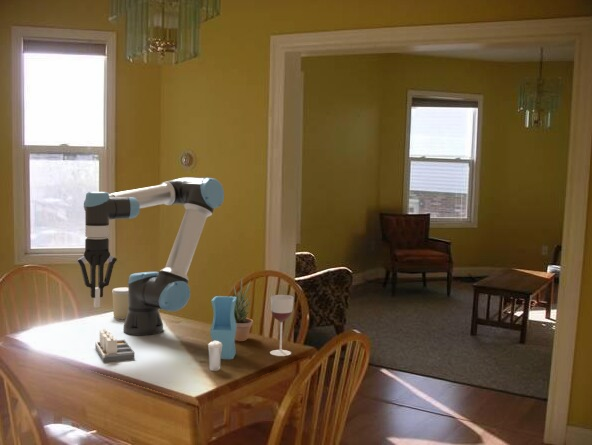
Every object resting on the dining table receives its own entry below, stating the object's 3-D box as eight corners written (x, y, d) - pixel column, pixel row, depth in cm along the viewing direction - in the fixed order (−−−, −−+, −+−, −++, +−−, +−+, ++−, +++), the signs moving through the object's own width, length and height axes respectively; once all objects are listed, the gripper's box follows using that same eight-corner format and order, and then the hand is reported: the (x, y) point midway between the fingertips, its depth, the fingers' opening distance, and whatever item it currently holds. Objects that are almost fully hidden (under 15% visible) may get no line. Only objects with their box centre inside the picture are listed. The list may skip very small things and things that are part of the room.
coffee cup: (139, 317, 266) (139, 289, 265) (120, 320, 258) (120, 292, 257) (125, 313, 272) (126, 286, 271) (107, 316, 264) (107, 289, 263)
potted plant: (257, 340, 235) (258, 275, 233) (235, 343, 230) (237, 277, 228) (243, 334, 243) (244, 271, 241) (221, 337, 238) (223, 273, 236)
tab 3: (114, 351, 210) (115, 335, 209) (117, 354, 206) (117, 338, 206) (105, 352, 208) (105, 336, 208) (107, 355, 205) (107, 339, 204)
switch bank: (124, 345, 223) (124, 339, 222) (134, 359, 208) (134, 352, 207) (95, 348, 218) (95, 342, 218) (103, 362, 203) (103, 355, 203)
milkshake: (205, 367, 202) (206, 336, 201) (222, 367, 202) (222, 337, 201) (204, 371, 197) (205, 340, 196) (221, 371, 198) (222, 340, 197)
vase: (209, 358, 211) (210, 300, 209) (213, 351, 219) (215, 295, 217) (232, 359, 211) (234, 301, 209) (236, 352, 218) (237, 296, 217)
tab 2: (111, 347, 214) (111, 332, 214) (113, 350, 211) (113, 334, 210) (102, 347, 213) (102, 332, 212) (103, 351, 209) (104, 335, 209)
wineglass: (295, 350, 223) (296, 296, 221) (286, 357, 215) (288, 300, 213) (274, 348, 225) (276, 293, 224) (265, 354, 217) (267, 298, 216)
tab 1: (108, 343, 219) (108, 328, 218) (110, 346, 215) (110, 331, 215) (99, 344, 217) (99, 329, 217) (101, 346, 214) (101, 331, 214)
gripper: (114, 236, 215) (113, 303, 217) (74, 237, 208) (74, 306, 210) (119, 238, 208) (118, 307, 210) (79, 239, 202) (78, 310, 204)
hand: (96, 306), depth 210 cm, fingers closed
